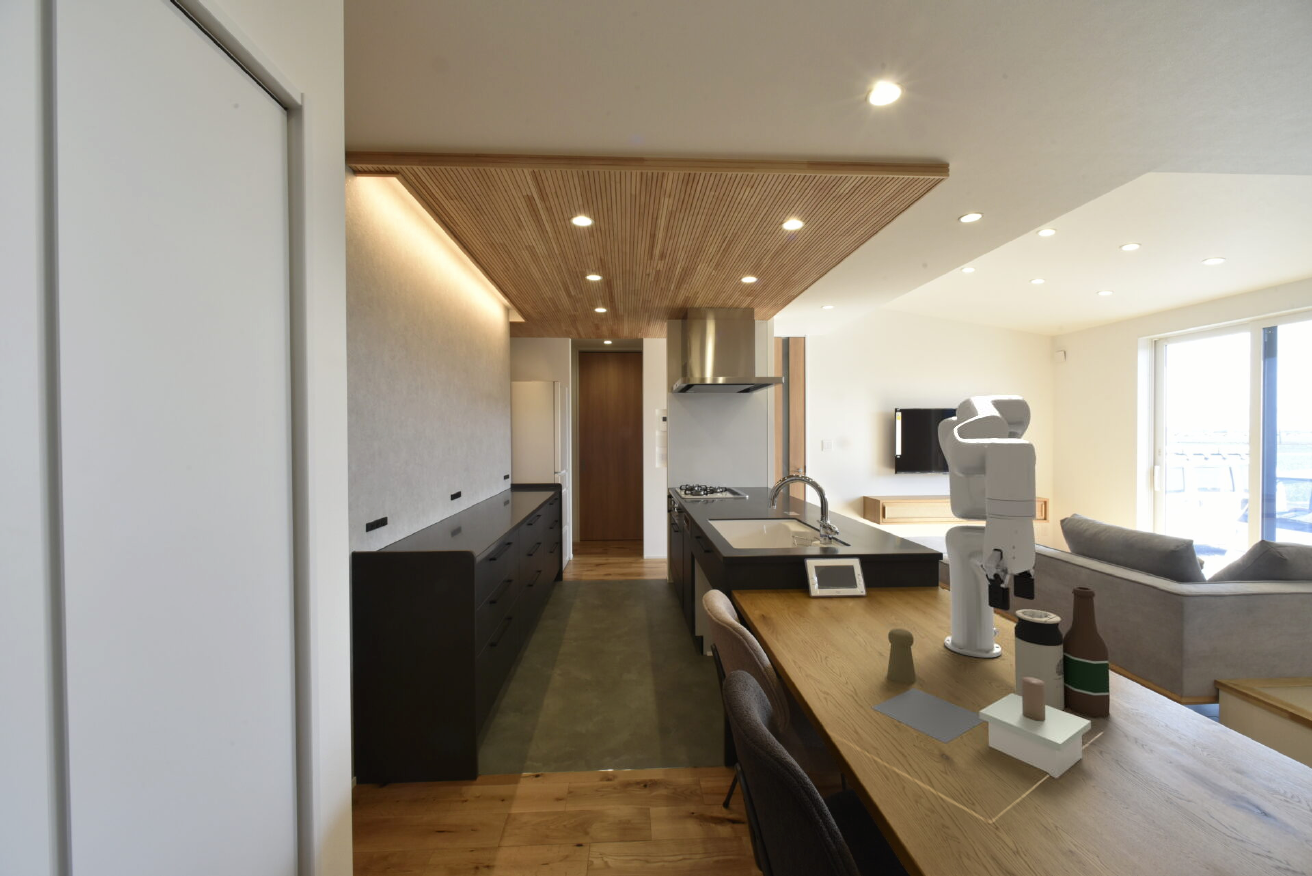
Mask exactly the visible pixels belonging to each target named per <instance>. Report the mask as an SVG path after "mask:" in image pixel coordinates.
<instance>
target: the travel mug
mask: <svg viewBox="0 0 1312 876" xmlns="http://www.w3.org/2000/svg"><path fill="white" fill-rule="evenodd" d="M1015 615H1016V617H1017V623H1016V624H1015V626H1014V628H1013V629H1014V664H1015V666H1014V667H1015V669H1014V670H1015V673H1014V675H1015V676H1014V677H1015V678H1014V679H1015V694H1016V695H1019V696H1022V678H1023V677H1032V678H1036V679H1039V680H1041V681H1043V682H1044V683H1045V705H1047V706H1050V707H1052V708H1055V709H1058V710H1061V711H1063V710H1065V706H1064V670H1063V638H1064V635H1063V633H1062V631H1061V630H1060V628H1059V625H1060V622H1062V619H1061V617H1060V616H1058V615H1056V614H1055V613H1051V612H1048V611H1043V610H1038V609H1029V608H1028V609H1019V610H1016V611H1015Z"/></svg>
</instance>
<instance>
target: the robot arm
mask: <svg viewBox="0 0 1312 876" xmlns="http://www.w3.org/2000/svg"><path fill="white" fill-rule="evenodd" d="M1030 422H1031V409H1030V406H1029V404H1028V402H1027V401H1026V400H1025V398H1023V397H1021V396H1019V395H1012V394H1011V395H1010V394H1009V395H991V396H990V395H987V396H973V397H970V398H967V399H965V400H963V401H961V402H960V403H959V404H958V406H957V408H956V410H955V416H952V417H948V418H945V419H943V420H942V421H940V423H939V424H938V426H937V435H938V437H937V438H938V441H939V446H940V448H941V451H942V454H943V456H944V458H945V460H946V464H947V466H948V474H949V475H948V476H949V478H948V479H949V503H950V510H951V513H952V515H953V516H954V517H955V518H957V519H959V520H964V521H977V522H978V521H979V522H981V521H982V522H985V525H968V524H967V525H957V526H952V527H951V528H949V529H947V531H946V534H945V535H944V536H945V538H944V539H945V540H944V541H945V547H946V548H945V549H946V553H947V558H948V566H949V567H948V568H949V589H950V591H949V595H950V600H949V601H950V634H951V635H949V636H946V637H945V638H944V645H945V646H946V648H948V649H949V650H951V651H953V652H955V653H957V654H961V655H965V656H968V657H974V658H975V657H976V658H984V659H985V658H986V659H988V658H996V657H1000V656H1001V655H1002V653H1003V652H1002V651H1003V650H1002V647H1001V646H1000V645H999V644H997V643H996V642H995V637H996V636H998V635H999V634H1000V631H999V629H998V628H997V627H994V626H995V620H994V619H995V618H994V615H995V614H994V613H995V612H994V609H996V610H997V609H998V610H1002V611H1010V609H1011V605H1010V603H1011V601H1010V600H1011V596H1010V590H1011V589H1010V587H1007V586H1008V584H1009V581H1010V578H1011V576H1013V596H1014V597H1015V598H1016V597H1017V598H1020V599H1024V600H1025V599H1026V600H1029V601H1034V599H1035V598H1036V597H1035V596H1036V595H1035V593H1036V592H1035V577H1036V572H1035V567H1036V555H1037V552H1036V541H1035V539H1036V538H1035V527H1034V521H1033V520H1036V519H1037V496H1036V495H1037V494H1036V493H1037V492H1036V464H1037V455H1036V453H1037V452H1036V449H1035V446H1034V444H1033V443H1031V442H1030V441H1027V440H1025V439H1022V438H1023V436H1024V434H1025V433H1026V431H1027V429H1029V428H1028V427H1029V425H1030ZM981 565H982V567H983V568H982V567H981ZM1001 576H1002V577H1001Z"/></svg>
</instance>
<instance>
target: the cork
mask: <svg viewBox="0 0 1312 876" xmlns="http://www.w3.org/2000/svg"><path fill="white" fill-rule="evenodd" d="M887 638H888V642H889V643H890V649H889V650H890V651H889V657H888V658H889V659H888V666H887V674H886V675H887V678H888V679H889V680H891V681H894V682H895V683H899V684H907V685H909V684H914V683H916V682H917V677H916V671H915V665H914V659H913V658H914V657H913V652H912V646H913V644H914V642H915V641H914V639H915V638H914V636H913V634H912V632H911V631H909V630H907V629H903V628H893V629H890V631H889V632H888V635H887Z"/></svg>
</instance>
